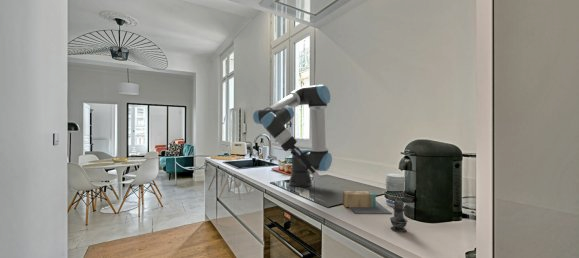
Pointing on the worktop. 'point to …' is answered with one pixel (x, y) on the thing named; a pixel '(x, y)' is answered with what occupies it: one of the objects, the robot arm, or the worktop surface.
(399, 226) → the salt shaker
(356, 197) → the tall block
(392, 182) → the supplement tub
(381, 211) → the mat
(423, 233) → the worktop surface
